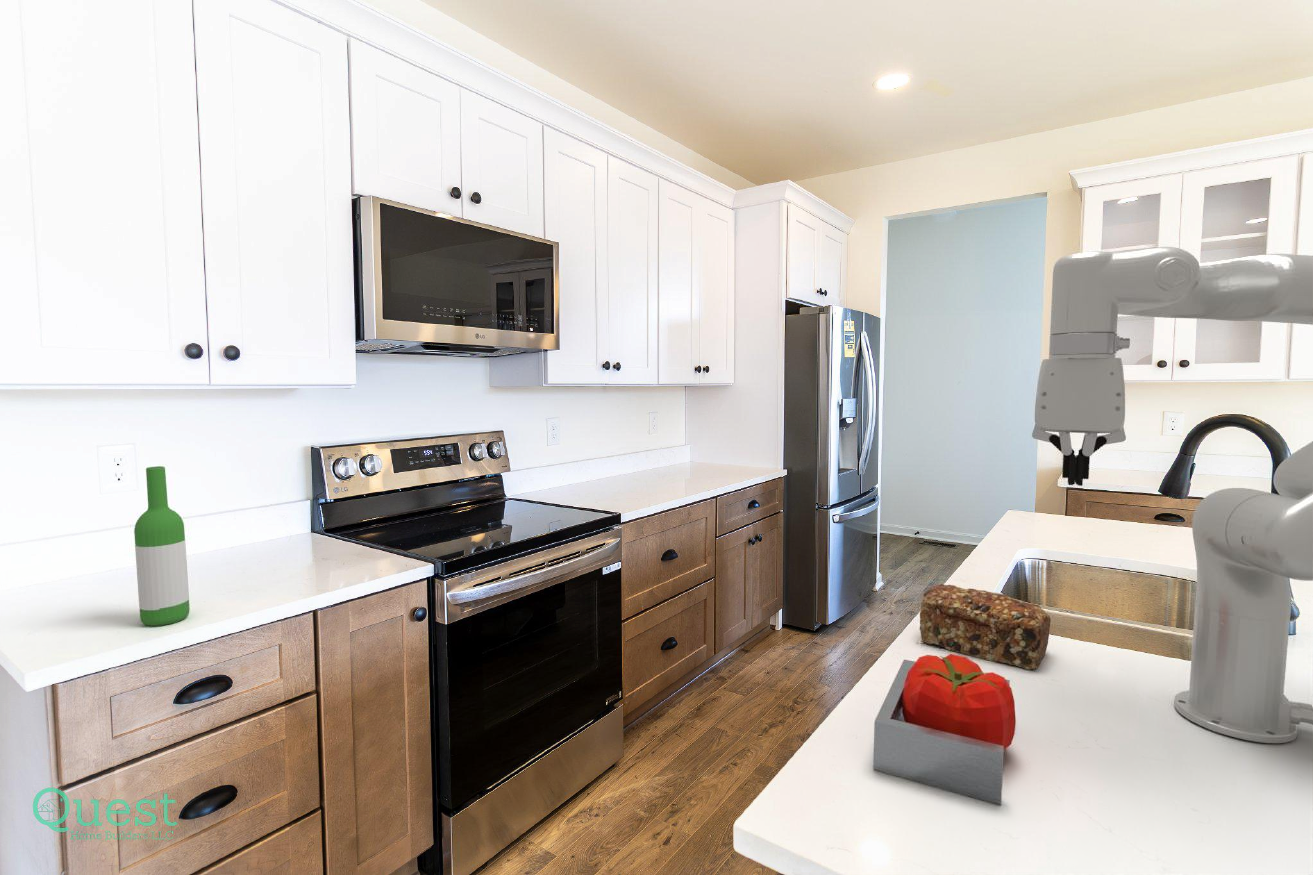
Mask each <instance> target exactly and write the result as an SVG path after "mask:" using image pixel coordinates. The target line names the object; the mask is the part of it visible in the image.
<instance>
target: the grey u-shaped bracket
mask: <svg viewBox="0 0 1313 875" xmlns="http://www.w3.org/2000/svg"><path fill="white" fill-rule="evenodd" d="M915 662H916V660H915V661H914V660H910V659H903V660H902V663H901V664H900V667H899V669H898V671H897V673H896V674H895V675H896V676H895V678H894V680H893V681H892V684H891V686H890V688H889V690H888V692H887V694H886V696H885V698H884V701H883V702H882V704H881V707H880V709H879V712H878V713H877V715H876V717H875V719H874V726H873V727H874V730H873V766H872V768H873V770H874V771H878V772H881V773H884V774H888V775H891V776H894V777H899V778H902V779H904V780H905V779H906V780H909V781H913V782H916V783H920V784H922V785H923V784H924V785H928V786H930V787H934V788H938V789H941V790H945V791H948V792H951V793H955V794H959V795H962V796H966V797H969V798H973V799H975V800H976V799H977V800H980V801H984V802H987V803H990V804H993V805H994V804H995V805H998V806H1001V805H1002V798H1003V797H1002V795H1003V793H1002V792H1003V772H1004V771H1003V769H1004V753H1005V751H1004V746H1001V745H997V744H993V743H989V742H984V741H980V740H976V739H972V738H968V737H964V736H960V735H955V734H951V733H947V732H943V731H939V730H935V729H931V728H926V727H922V726H918V725H914V724H910V723H906V722H905V720H904V717H903V714H902V698H903V690H904V683H905V680H906V677H907V674H908V671H909V670H910V669H911V668H912V666H913V665H914V664H915ZM1006 681H1007V682H1008V684H1009V686H1010V685H1011V684H1010V683H1011V680H1010V679H1006ZM1010 687H1011V686H1010Z"/></svg>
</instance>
